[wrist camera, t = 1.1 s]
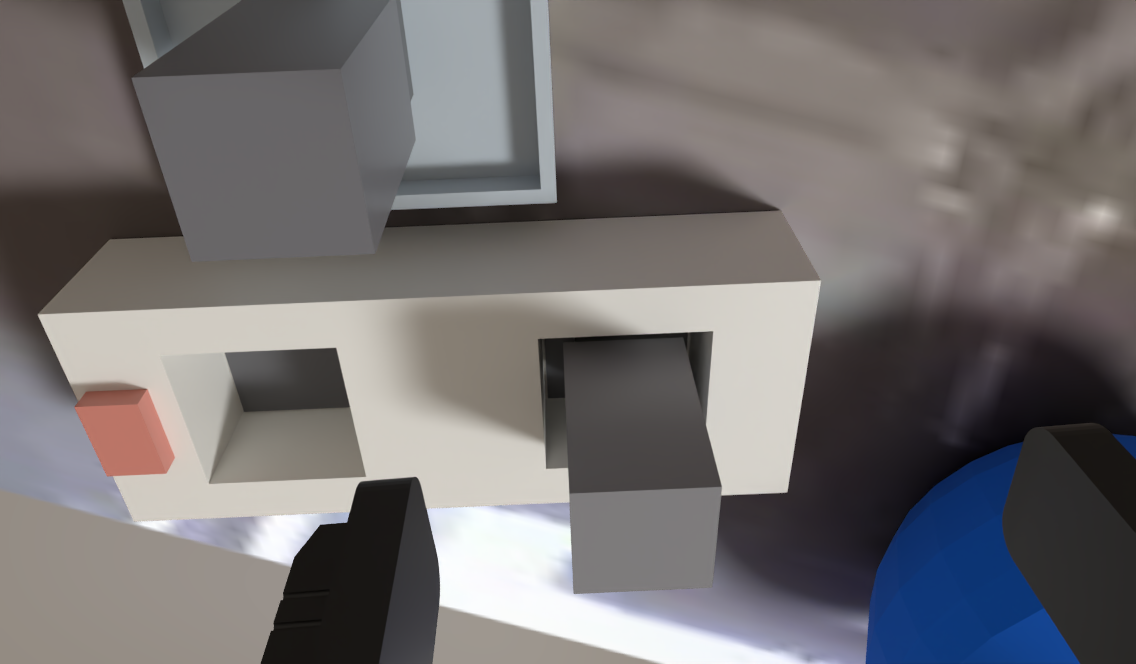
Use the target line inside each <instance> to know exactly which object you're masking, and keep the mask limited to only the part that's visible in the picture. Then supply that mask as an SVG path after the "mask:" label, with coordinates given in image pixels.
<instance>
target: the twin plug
mask: <svg viewBox="0 0 1136 664" xmlns="http://www.w3.org/2000/svg"><path fill="white" fill-rule="evenodd" d="M563 355H564V379H565V404H566V428H567V453H568V478H569V501H570V523H571V545H572V567H573V589H574V594H582V593H604V592H626V591H648V590H671V589H693V588H712V585H713V574H714V564H715V554H716V544H717V533H718V523H719V513H720V503H721V492H722V485H721V481H720V477H719V473H718V469H717V466H716V462H715V458H714V454H713V450H712V446H711V443H710V439H709V435H708V431H707V427H706V423H705V420H704V416H703V412H702V408H701V404H700V400H699V397H698V393H697V389H696V385H695V381H694V377H693V374H692V370H691V366H690V362H689V358H688V354H687V351H686V347H685V343H684V339H683V337H679V338H668V334H667V333H660V334H638V335H615V336H592V337H574V342H564V343H563Z"/></svg>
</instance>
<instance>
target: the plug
mask: <svg viewBox="0 0 1136 664" xmlns="http://www.w3.org/2000/svg"><path fill="white" fill-rule="evenodd" d="M131 79H132V82H133V85H134V88H135V91H136V94H137V97H138V100H139V103H140V106H141V109H142V112H143V115H144V118H145V121H146V124H147V127H148V130H149V133H150V136H151V140H152V143H153V146H154V149H155V152H156V155H157V158H158V161H159V164H160V167H161V170H162V173H163V176H164V179H165V182H166V185H167V188H168V191H169V194H170V197H171V200H172V203H173V206H174V209H175V213H176V216H177V219H178V222H179V225H180V228H181V231H182V234H183V237H184V240H185V243H186V246H187V249H188V252H189V255H190V258H191V261H192V262H201V261H224V260H248V259H271V258H294V257H317V256H340V255H364V254H375V253H376V250H377V247H378V244H379V242H380V239H381V236H382V233H383V230H384V228H385V225H386V222H387V219H388V216H389V214H390V211H391V208H392V205H393V202H394V200H395V197H396V194H397V191H398V188H399V186H400V183H401V180H402V177H403V174H404V172H405V169H406V166H407V163H408V160H409V158H410V155H411V152H412V149H413V146H414V144H415V141H416V137H415V130H414V123H413V116H412V109H411V99H412V97H413V95H414V94H413V87H412V80H411V72H410V65H409V58H408V51H407V44H406V37H405V29H404V22H403V15H402V8H401V1H400V0H241V1H240V2H238V3H237V4H236V5H234V6H233V7H231V8H230V9H229V10H227V11H226V12H224V13H223V14H221V15H220V16H219V17H217V18H216V19H214V20H213V21H211V22H210V23H209V24H207V25H206V26H204V27H203V28H201V29H200V30H199V31H197V32H196V33H194V34H193V35H191V36H190V37H189V38H187V39H186V40H184V41H183V42H181V43H180V44H179V45H177V46H176V47H174V48H173V49H171V50H170V51H169V52H167V53H166V54H164V55H163V56H161V57H160V58H159V59H157V60H156V61H154V62H153V63H152V64H150V65H149V66H147V67H146V68H144V69H143V70H142V71H140V72H139V73H137V74H136V75H134V76H133V77H132V78H131Z"/></svg>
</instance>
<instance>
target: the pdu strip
mask: <svg viewBox="0 0 1136 664" xmlns="http://www.w3.org/2000/svg"><path fill="white" fill-rule="evenodd" d="M820 284H821V280H820V278H819V276H818V274H817V273H816V271H815V269H814V267H813V266H812V264H811V262H810V260H809V259H808V257H807V255H806V253H805V252H804V250H803V248H802V246H801V245H800V243H799V241H798V239H797V238H796V236H795V234H794V232H793V231H792V229H791V227H790V225H789V224H788V222H787V220H786V218H785V217H784V215H783V213H782V211H761V212H738V213H715V214H691V215H668V216H645V217H621V218H598V219H575V220H552V221H528V222H505V223H482V224H458V225H435V226H412V227H388V228H384V230H383V233H382V236H381V239H380V242H379V244H378V247H377V250H376V253H375V254H364V255H340V256H317V257H294V258H271V259H248V260H224V261H201V262H192V261H191V258H190V255H189V252H188V249H187V246H186V243H185V240H184V237H183V236H179V237H156V238H132V239H110V240H109V241H108V242H107V243H106V244H105V245H104V246H103V247H102V248H101V249H100V250H99V251H98V252H97V253H96V254H95V255H94V256H93V257H92V258H91V259H90V260H89V261H88V262H87V263H86V265H85V266H84V267H83V268H82V269H81V270H80V271H79V272H78V273H77V274H76V275H75V276H74V277H73V278H72V279H71V280H70V281H69V282H68V283H67V284H66V285H65V286H64V287H63V288H62V290H61V291H60V292H59V293H58V294H57V295H56V296H55V297H54V298H53V299H52V300H51V301H50V302H49V303H48V304H47V305H46V306H45V307H44V308H43V309H42V310H41V311H40V312H39V313H38V317H39V319H40V321H41V323H42V325H43V327H44V329H45V332H46V334H47V336H48V338H49V340H50V342H51V344H52V347H53V349H54V351H55V353H56V355H57V357H58V359H59V362H60V364H61V366H62V368H63V370H64V372H65V374H66V377H67V379H68V381H69V383H70V385H71V387H72V389H73V392H74V394H75V396H76V398H77V400H78V403H77V404H76V406H75V409H76V412H77V414H78V416H79V418H80V420H81V422H82V424H83V426H84V428H85V431H86V433H87V435H88V437H89V439H90V441H91V443H92V445H93V448H94V450H95V452H96V454H97V456H98V458H99V460H100V462H101V464H102V467H103V469H104V471H105V473H106V475H107V476H113V477H114V479H115V482H116V484H117V486H118V488H119V490H120V492H121V494H122V497H123V499H124V501H125V503H126V505H127V507H128V509H129V512H130V514H131V516H132V518H133V520H134V522H137V521H159V520H182V519H204V518H227V517H249V516H272V515H294V514H317V513H339V512H350V510H351V506H352V502H353V498H354V494H355V491H356V488H357V486H358V484H359V483H360V482H361V481H370V480H382V479H394V478H406V477H417V478H418V479H419V481H420V484H421V488H422V492H423V496H424V501H425V505H426V509H429V508H451V507H474V506H496V505H518V504H541V503H563V502H570V501H569V478H568V453H567V428H566V404H565V379H564V355H563V343H564V342H574V337H592V336H615V335H638V334H660V333H667V334H668V338H679V337H683V339H684V343H685V347H686V351H687V354H688V358H689V362H690V366H691V370H692V374H693V377H694V381H695V385H696V389H697V393H698V397H699V400H700V404H701V408H702V412H703V416H704V420H705V423H706V427H707V431H708V435H709V439H710V443H711V446H712V450H713V454H714V458H715V462H716V466H717V469H718V473H719V477H720V481H721V485H722V492H721V495H743V494H765V493H787V491H788V485H789V478H790V472H791V466H792V460H793V453H794V447H795V441H796V435H797V428H798V422H799V416H800V409H801V403H802V397H803V391H804V384H805V378H806V372H807V366H808V359H809V353H810V347H811V340H812V334H813V328H814V322H815V315H816V309H817V303H818V297H819V290H820Z"/></svg>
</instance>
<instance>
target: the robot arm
mask: <svg viewBox="0 0 1136 664" xmlns="http://www.w3.org/2000/svg"><path fill="white" fill-rule="evenodd" d="M1002 527H1003V534H1004V539H1005V543H1006V546H1007V549H1008V551H1009V553H1010V555H1011V557H1012V559H1013V561H1014V562H1015V564H1016V566H1017V567H1018V569H1019V570H1020V572H1021V573H1022V575H1023V576H1024V578H1025V579H1026V581H1027V582H1028V584H1029V586H1030V587H1031V589H1032V590H1033V592H1034V593H1035V595H1036V596H1037V598H1038V599H1039V601H1040V602H1041V604H1042V606H1043V607H1044V609H1045V610H1046V612H1047V613H1048V615H1049V616H1050V618H1051V619H1052V621H1053V622H1054V624H1055V626H1056V627H1057V629H1058V630H1059V632H1060V633H1061V635H1062V636H1063V638H1064V639H1065V641H1066V643H1067V644H1068V646H1069V647H1070V649H1071V650H1072V652H1073V653H1074V655H1075V656H1076V658H1077V659H1078V661H1079V663H1080V664H1136V459H1135V458H1134V457H1133V456H1132V455H1131V454H1130V453H1129V452H1128V451H1127V450H1126V448H1125V447H1124V446H1123V445H1122V444H1121V443H1120V442H1119V441H1118V440H1117V439H1116V438H1115V437H1114V436H1113V435H1112V434H1111V433H1110V432H1109V431H1108V430H1107V429H1106V428H1105V427H1103V426H1102V425H1100V424H1097V423H1083V424H1071V425H1059V426H1047V427H1036V428H1033V429H1031V430H1030V431H1029V432H1028V433H1027V435H1026V436H1025V439H1024V441H1023V445H1022V448H1021V452H1020V455H1019V458H1018V462H1017V465H1016V469H1015V472H1014V475H1013V479H1012V482H1011V486H1010V489H1009V492H1008V496H1007V499H1006V503H1005V506H1004V510H1003V516H1002ZM283 596H284V597H283V600H281V601H280V604H279V607H278V611H277V614H276V617H275V620H274V630H273V631H271V633H270V636H269V639H268V642H267V645H266V648H265V652H264V655H263V658H262V661H261V664H432V662H433V653H434V645H435V636H436V627H437V618H438V610H439V599H440V577H439V565H438V558H437V553H436V548H435V544H434V540H433V535H432V531H431V527H430V522H429V518H428V514H427V509H426V505H425V501H424V496H423V492H422V488H421V484H420V481H419V479H418V478H417V477H406V478H394V479H382V480H370V481H361V482H360V483H359V484H358V486H357V488H356V491H355V494H354V498H353V502H352V506H351V510H350V514H349V518H348V521H347V523H337V524H325V525H320V526H319V527H318V528H317V530H316V531H315V532H314V533H313V535H312V536H311V537H310V538H309V540H308V541H307V542H306V543H305V545H304V546H303V547H302V548H301V550H300V551H299V552H298V553H297V555H296V556H295V557H294V560H293V563H292V567H291V570H290V573H289V576H288V579H287V582H286V586H285V589H284V592H283Z"/></svg>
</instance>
